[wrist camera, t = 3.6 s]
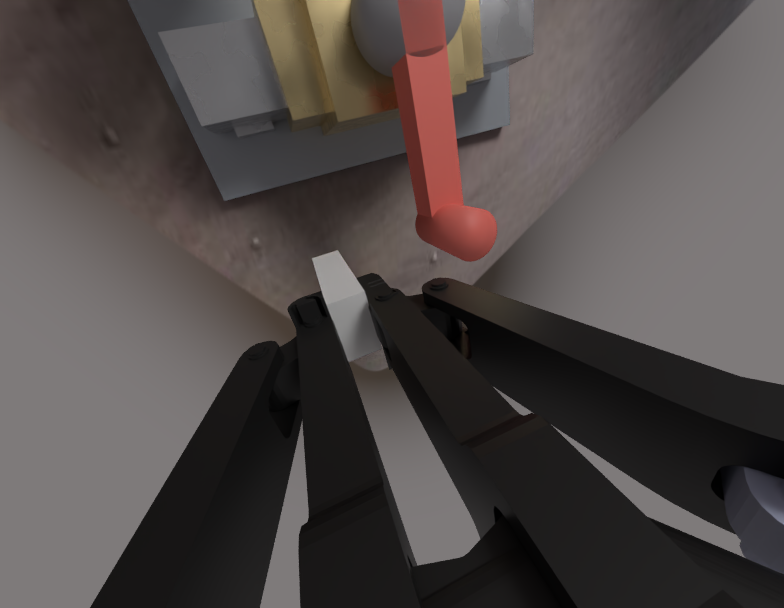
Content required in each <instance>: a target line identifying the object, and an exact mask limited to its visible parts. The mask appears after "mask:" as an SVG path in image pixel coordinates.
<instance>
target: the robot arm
mask: <svg viewBox="0 0 784 608" xmlns="http://www.w3.org/2000/svg"><path fill="white" fill-rule="evenodd" d="M312 260H313V264H314V267H315V270H316V274H317V277H318V281H319V284H320V287H321V291H320V292H317V293H314V294H311V295H308V296H305V297H302V298H300V299H298V300H296V301H295V302H293V303H292V304H291V305H290V306H289V307H288V309H287V310H288V312H289V314H290V317H291V319H292V321H293V323H294V325H295V327H296V333H297V336H296V337H295V338H294V339H292V340H291V341H290V342H288V343H286V344H284V345H283V346H281V347H279V345H278V344H277V343H276V342H275V341H266V342H262V343H258V344H255V346H252V347H250V348H249V349H248V350H247V351H246V352H244V353H243V354H242V356H241V357H240V358H239V360H238V362H237V363H236V365H235V367H234V368H233V370H232V372H231V373H230V375H229V377H228V378H227V380H226V382H225V383H224V385H223V387H222V388H221V390H220V392H219V393H218V395H217V397H216V398H215V400H214V402H213V403H212V405H211V407H210V408H209V410H208V412H207V413H206V415H205V417H204V419H203V420H202V422H201V423H200V425H199V427H198V428H197V430H196V432H195V434H194V435H193V437H192V438H191V440H190V442H189V443H188V445H187V447H186V449H185V450H184V452H183V453H182V455H181V457H180V458H179V460H178V462H177V463H176V465H175V467H174V468H173V470H172V472H171V473H170V475H169V477H168V478H167V480H166V482H165V483H164V485H163V487H162V488H161V490H160V492H159V493H158V495H157V497H156V498H155V500H154V502H153V504H152V505H151V507H150V509H149V510H148V512H147V513H146V515H145V517H144V518H143V520H142V522H141V524H140V525H139V527H138V529H137V530H136V532H135V534H134V535H133V537H132V539H131V540H130V542H129V544H128V545H127V547H126V549H125V550H124V552H123V554H122V555H121V557H120V559H119V560H118V562H117V564H116V565H115V567H114V569H113V570H112V572H111V574H110V575H109V577H108V579H107V580H106V582H105V584H104V585H103V587H102V589H101V590H100V592H99V594H98V595H97V597H96V599H95V600H94V602H93V604H92V605H91V607H90V608H260V604H261V599H262V595H263V590H264V586H265V582H266V577H267V572H268V568H269V564H270V560H271V555H272V551H273V546H274V542H275V537H276V533H277V529H278V524H279V520H280V515H281V511H282V506H283V502H284V497H285V493H286V489H287V484H288V480H289V475H290V471H291V467H292V462H293V457H294V453H295V449H296V445H297V440H298V436H299V431H300V427H301V422H302V420H303V435H304V449H305V462H306V463H305V464H306V478H307V492H308V507H309V518H308V522H307V523H306V524H304V525H303V526H302V527H301V530H300V534H299V576H300V577H299V578H300V606H301V608H784V385H781V384H776V383H770V382H765V381H760V380H755V379H750V378H745V377H740V376H737V375H734V374H731V373H728V372H725V371H722V370H719V369H716V368H714V367H711V366H707V365H704V364H702V363H699V362H696V361H693V360H690V359H687V358H684V357H681V356H678V355H675V354H672V353H669V352H666V351H663V350H660V349H657V348H654V347H651V346H648V345H646V344H643V343H640V342H637V341H634V340H631V339H628V338H625V337H622V336H619V335H616V334H613V333H610V332H607V331H604V330H601V329H598V328H595V327H592V326H589V325H586V324H584V323H580V322H578V321H575V320H572V319H568V318H566V317H563V316H560V315H557V314H554V313H551V312H548V311H545V310H542V309H539V308H536V307H533V306H530V305H527V304H524V303H521V302H519V301H516V300H513V299H509V298H506V297H504V296H501V295H498V294H495V293H492V292H489V291H486V290H483V289H480V288H477V287H474V286H471V285H468V284H465V283H462V282H459V281H457V280H454V279H450V278H437V279H436V278H435V279H432V280H431V281H428V282H427V283H425V284H424V285H423V286H422V292H423V294H419V295H413V296H405V295H404V294H403V293H402V292H401V291H400V290H398V289H394V288H390V287H389V286H388V285H387V284H386V282H385V281H384V280H383V279H382V278H381V277H380V276H379V275H377V274H374V273H370V274H367V275H364V276H361V277H358V278H356V277H355V276H354V274H353V273H352V271H351V270H350V268H349V267H348V265H347V264H346V262H345V261H344V259H343V258H342V256H341V255H340V253H339V252H338V250H337V251H333V252H330V253H327V254H324V255H321V256H318V257H315V258H312ZM462 322H463V323H464V324H465V325H466V326H467V328H468V329H466V328H464V327H462ZM380 342H381V343H380ZM381 344H382V346H383V350H384V353H385V356H386V360H387V363H388V366H389V369H393V371H394V373H395V374H396V376H397V378H398V380H399V382H400V384H401V386H402V387H403V389H404V391H405V393H406V395H407V397H408V399H409V401H410V403H411V404H412V406H413V408H414V410H415V412H416V414H417V416H418V417H419V419H420V421H421V423H422V425H423V427H424V429H425V430H426V432H427V434H428V436H429V438H430V440H431V442H432V444H433V445H434V447H435V449H436V451H437V453H438V455H439V457H440V459H441V460H442V462H443V464H444V466H445V468H446V470H447V471H448V473H449V475H450V477H451V479H452V481H453V482H454V485H455V486H456V488H457V490H458V492H459V494H460V496H461V498H462V500H463V501H464V503H465V505H466V507H467V509H468V511H469V513H470V515H471V517H472V519H473V521H474V523H475V526H476V528H477V531H478V533H479V536H480V541H479V542H478V543H477V544H476V545H475V546H474V547H473V548H472V549H471V550H470V552H469V553H467V554H466V555H465V556H463V557H460V558H456V559H451V560H445V561H440V562H435V563H430V564H424V565H419V566H417V563H416V561H415V558H414V555H413V552H412V549H411V546H410V544H409V541H408V538H407V535H406V532H405V529H404V526H403V523H402V520H401V517H400V514H399V511H398V508H397V505H396V502H395V499H394V496H393V493H392V490H391V487H390V484H389V481H388V478H387V475H386V472H385V469H384V466H383V463H382V460H381V457H380V454H379V451H378V448H377V445H376V442H375V439H374V436H373V433H372V430H371V427H370V424H369V421H368V418H367V415H366V412H365V409H364V406H363V403H362V400H361V397H360V394H359V391H358V388H357V385H356V382H355V379H354V376H353V373H352V370H351V368H350V365H349V362H350V361H353V360H355V359H358V358H360V357H363V356H365V355H368V354H370V353H373V352H375V351H378V350H380V349H382V347H381ZM493 387H495V388H496V389H498V390H500V391H501V392H503V393H504V394H506V395H507V396H509V397H510V398H512V399H513V400H515V401H516V402H518V403H519V404H521V405H522V406H524V407H526V408H527V409H528V410H530V411H531V412H533V413H534V414H533V413H531V414H528V415H525V416H523V415H521V414H519V413H518V412H517V411H516V410H515V409H514V408H513V407H512V406H511V405H510V404H509V403H508V402H507V401H506V400H505V399H504V398H503V397H502V396H501V395H500V394H499V393H498V392H497V391H496V390H495V389H494V388H493ZM552 425H553V426H554V427H556V428H557V429H559V430H560V431H562V432H563V433H565V434H567V435H568V436H569V437H571V438H572V439H574V440H575V441H577V442H579V443H580V444H582V445H583V446H584V447H586V448H588V449H589V450H591V451H592V452H594V453H595V454H597V455H598V456H600V457H601V458H603V459H604V460H606V461H607V462H609V463H610V464H612V465H613V466H615V467H616V468H618V469H619V470H621V471H622V472H624V473H626V474H627V475H628V476H630V477H632V478H633V479H635V480H636V481H638V482H639V483H641V484H642V485H644V486H646V487H647V488H649V489H650V490H652V491H654V492H655V493H657V494H659V495H660V496H662V497H663V498H665V499H667V500H668V501H670V502H672V503H673V504H675V505H678V506H679V507H681V508H683V509H685V510H687V511H689V512H690V513H692V514H694V515H696V516H698V517H700V518H702V519H704V520H706V521H707V522H710V523H712V524H714V525H716V526H718V527H721V528H723V529H725V530H727V531H730V532H732V533H734V534H736V535H737V536H738V538H739V539H740V540H741V542H740V548H741V550H742V553H743V555H744V556H745V557H746V558H744V557H742V556H739V555H737V554H734V553H732V552H730V551H727V550H725V549H722V548H720V547H718V546H715V545H713V544H711V543H708V542H706V541H703V540H701V539H699V538H696V537H694V536H692V535H689V534H687V533H684V532H682V531H680V530H677V529H675V528H672V527H670V526H668V525H665V524H663V523H661V522H658V521H656V520H654V519H651V518H649V517H647V516H645V514H644V513H642V512H641V511H640V510H639V509H638V508H637V507H636V506H635V505H634V504H633V503H632V502H631V501H630V500H629V499H628V498H627V497H626V496H625V495H624V494H623V493H622V492H620V491H619V490H618V489H617V488H616V487H615V486H614V485H613V484H612V483H611V482H610V481H609V480H608V479H607V478H605V476H604V475H603V474H602V473H601V472H600V471H599V470H598V469H597V468H595V467H594V466H593V465H592V464H591V463H590V462H589V461H588V460H587V459H586V458H585V457H584V456H583V455H582V454H581V453H580V452H578V450H577V449H576V448H574V446H572V445H571V444H570V443H569V442H568V441H567V440H566V439H565V438H564V437H563V436H562V435H561V434H560V433H559V432H558V431H557V430H556V429H555V428H554V427H553V426H552Z"/></svg>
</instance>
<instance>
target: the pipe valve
mask: <svg viewBox="0 0 784 608" xmlns="http://www.w3.org/2000/svg"><path fill="white" fill-rule="evenodd" d="M351 1H352V0H251V2H252V7H253V12H254V17H253V18H246V19H240V20H233V21H227V22H221V23H214V24H208V25H201V26H195V27H189V28H182V29H176V30H170V31H163V32H158V34H159V36H160V38H161V40H162V42H163V44H164V46H165V49H166V51H167V53H168V55H169V57H170V59H171V62H172V64H173V66H174V68H175V70H176V72H177V74H178V77H179V79H180V81H181V83H182V85H183V87H184V90H185V92H186V94H187V96H188V98H189V100H190V102H191V105H192V107H193V109H194V111H195V113H196V115H197V117H198V120H199V122H200V124H201V126H202V127H204V128H206V129H207V130H209V131H211V132H213V133H215V134H216V135H217V134H221V133H226V132H230V131H236V134H237V136H238V137H239V138H240V139H244V138H248V137H252V136H257V135H261V134H265V133H270V132H274V131H275V130H274V127H273V124H272V122H275V121H279V120H284V119H287V120H288V123H289V126H290V129H291V132H296V131H300V130H304V129H308V128H313V127H317V126H321V128H322V132H323V135H324V136H327V135H331V134H335V133H339V132H343V131H347V130H352V129H356V128H360V127H364V126H368V125H372V124H376V123H380V122H385V121H389V120H393V119H397V118H400V112H399V107H398V101H397V96H396V90H395V85H394V79H393V77H388V76H385V75H383V74H381V73H379V72H378V71H376V70H375V69H374V68H372V67H371V66H370V65H369V64H368V62H367V61H366V60H365V59H364V57H363V56H362V54H361V52H360V50H359V48H358V46H357V44H356V41H355V39H354V35H353V31H352V26H351ZM533 38H534V0H466V1H465V8H464V13H463V17H462V20H461V23H460V26H459V28H458V30H457V32H456V34H455V35H454V37H453V39H452V40H451V41H450V43H449V44H448V45H447V52H448V62H449V71H450V81H451V91H452V98H454V97H457V96H459V95H461V94H463V93H465V92H467V91H466V87H468V86H472V85H477V84H481V83H483V82H485V81H487V80H489V79H491V73H492V72H497V71H499V70H501V69H503V68H505V67H507V66H509V65H511V64H513V63H516V62H518V61H520V60H522V59H524V58H526V57H528V56H530V55H532V54H533Z"/></svg>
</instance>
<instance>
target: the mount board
mask: <svg viewBox="0 0 784 608" xmlns="http://www.w3.org/2000/svg"><path fill="white" fill-rule="evenodd" d="M127 1H128V3H129V5H130V7H131V9H132V11H133V13H134V15H135V17H136V19H137V21H138V23H139V25H140V27H141V30H142V32H143V34H144V36H145V38H146V40H147V42H148V44H149V46H150V48H151V50H152V52H153V54H154V56H155V58H156V61H157V63H158V65H159V67H160V69H161V71H162V73H163V75H164V77H165V79H166V81H167V83H168V85H169V87H170V89H171V92H172V94H173V96H174V98H175V100H176V102H177V104H178V106H179V108H180V110H181V112H182V114H183V116H184V118H185V121H186V123H187V125H188V127H189V129H190V131H191V133H192V135H193V137H194V139H195V141H196V143H197V145H198V147H199V149H200V152H201V154H202V156H203V158H204V160H205V162H206V164H207V166H208V168H209V170H210V172H211V174H212V176H213V178H214V180H215V183H216V185H217V187H218V189H219V191H220V193H221V195H222V197H223V199H224V201H226V200H230V199H234V198H238V197H241V196H245V195H249V194H253V193H256V192H260V191H264V190H268V189H271V188H275V187H279V186H282V185H286V184H290V183H294V182H297V181H301V180H305V179H309V178H312V177H316V176H320V175H324V174H327V173H331V172H335V171H339V170H342V169H346V168H350V167H353V166H357V165H361V164H365V163H368V162H372V161H376V160H380V159H383V158H387V157H391V156H395V155H398V154H402V153H406V152H407V151H406V146H405V140H404V135H403V129H402V123H401V118H397V119H393V120H389V121H385V122H380V123H376V124H372V125H368V126H364V127H360V128H356V129H352V130H347V131H343V132H339V133H335V134H331V135H327V136H324V135H323V132H322V128H321V126H317V127H313V128H308V129H304V130H300V131H296V132H291V129H290V126H289V123H288V120H287V119H284V120H279V121H275V122H272V124H273V127H274V130H275V131H274V132H270V133H265V134H261V135H257V136H252V137H248V138H244V139H240V138H239V137H238V136H237V134H236V131H230V132H226V133H221V134H217V135H216V134H215V133H213V132H211V131H209V130H207V129H206V128H204V127H202V126H201V124H200V122H199V120H198V117H197V115H196V113H195V111H194V109H193V107H192V105H191V102H190V100H189V98H188V96H187V94H186V92H185V90H184V87H183V85H182V83H181V81H180V79H179V77H178V74H177V72H176V70H175V68H174V66H173V64H172V62H171V59H170V57H169V55H168V53H167V51H166V49H165V46H164V44H163V42H162V40H161V38H160V36H159V34H158V32H163V31H170V30H176V29H182V28H189V27H195V26H201V25H208V24H214V23H221V22H227V21H233V20H240V19H246V18H253V17H254V12H253V7H252V2H251V0H127ZM466 91H467V92H465V93H463V94H461V95H459V96H457V97H454V98H452V100H453V110H454V119H455V129H456V138H457V139H458V138H462V137H466V136H469V135H473V134H477V133H481V132H484V131H488V130H492V129H496V128H499V127H503V126H507V125H510V107H509V70H508V66H507V67H505V68H503V69H501V70H499V71H497V72H492V73H491V79H489V80H487V81H485V82H483V83H481V84H477V85H472V86H468V87H466Z"/></svg>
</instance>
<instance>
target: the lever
mask: <svg viewBox="0 0 784 608" xmlns="http://www.w3.org/2000/svg"><path fill="white" fill-rule="evenodd" d="M465 1H466V0H352V1H351V26H352V31H353V35H354V39H355V41H356V44H357V46H358V48H359V50H360V52H361V54H362V56H363V57H364V59H365V60H366V61H367V62H368V64H369V65H370V66H371V67H372V68H374V69H375V70H376V71H378V72H379V73H381V74H383V75H385V76H388V77H393V79H394V85H395V90H396V96H397V101H398V107H399V112H400V118H401V123H402V129H403V135H404V140H405V146H406V151H407V157H408V162H409V168H410V173H411V179H412V185H413V190H414V196H415V201H416V207H417V212H418V215H417V217H416V223H415V226H416V231H417V234H418V235H419V237H420V238H421V239H422V240H423V241H425V242H427V243H429V244H431V245H433V246H435V247H437V248H439V249H441V250H443V251H445V252H447V253H449V254H451V255H453V256H456V257H458V258H460V259H462V260H464V261H476V260H478V259H480V258H482V257H484V256H485V255H486V254H487V253H488V252H489V251H490V249H491V248H492V246H493V245H494V242H495V239H496V236H497V225H496V221H495V219H494V217H493V215H492V214H491V213H490V212H488V211H487V210H484V209H480V208H474V207H469V206H464V205H463V196H462V186H461V177H460V167H459V158H458V148H457V138H456V129H455V119H454V110H453V100H452V91H451V81H450V71H449V62H448V52H447V45H448V44H449V43H450V41H451V40H452V39H453V37H454V35H455V34H456V32H457V30H458V28H459V26H460V23H461V20H462V17H463V13H464V8H465Z"/></svg>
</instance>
